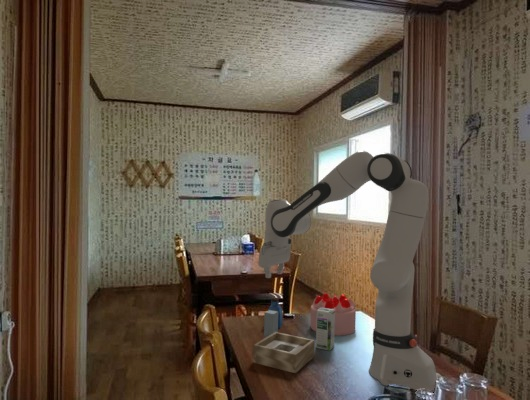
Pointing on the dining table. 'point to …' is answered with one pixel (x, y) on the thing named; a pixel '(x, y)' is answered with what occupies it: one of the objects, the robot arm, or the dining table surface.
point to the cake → (336, 313)
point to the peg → (270, 322)
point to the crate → (284, 352)
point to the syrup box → (325, 328)
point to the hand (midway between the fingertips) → (274, 275)
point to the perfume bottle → (277, 308)
